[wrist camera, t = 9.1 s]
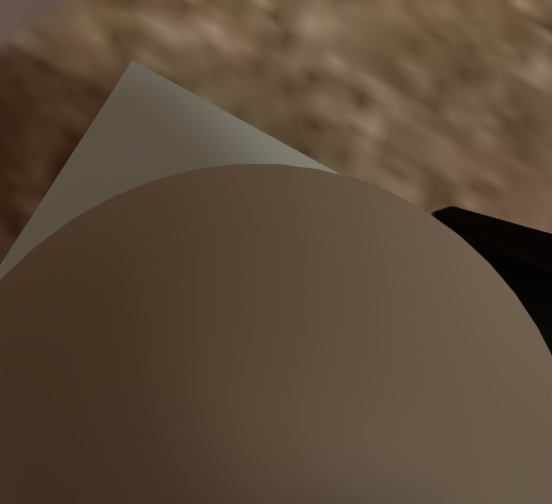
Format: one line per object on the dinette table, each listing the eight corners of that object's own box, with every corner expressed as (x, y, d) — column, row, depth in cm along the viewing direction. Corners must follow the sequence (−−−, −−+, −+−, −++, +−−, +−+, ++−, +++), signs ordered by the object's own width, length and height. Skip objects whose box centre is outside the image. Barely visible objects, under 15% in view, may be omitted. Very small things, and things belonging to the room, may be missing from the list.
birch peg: (279, 424, 17) (611, 864, 3) (153, 424, 16) (-162, 953, 2) (281, 301, 17) (565, 182, 4) (161, 297, 17) (-54, 142, 3)
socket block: (298, 626, 16) (328, 724, 12) (-55, 449, 15) (-146, 490, 11) (449, 284, 18) (516, 271, 14) (148, 120, 18) (132, 60, 14)
